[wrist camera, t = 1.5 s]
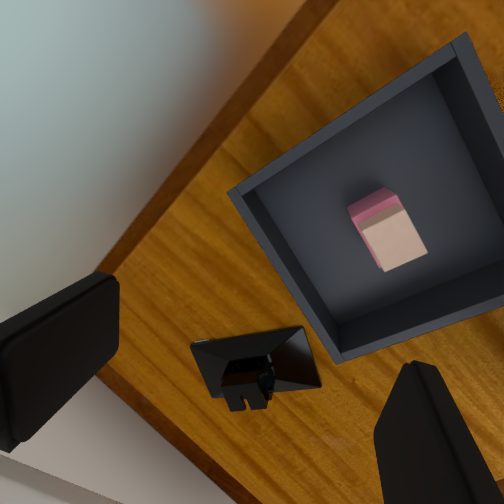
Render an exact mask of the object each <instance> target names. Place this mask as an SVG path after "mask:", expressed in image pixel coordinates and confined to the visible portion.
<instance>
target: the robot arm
mask: <svg viewBox="0 0 504 504" xmlns="http://www.w3.org/2000/svg"><path fill="white" fill-rule="evenodd" d="M119 293H120V285H119V282H118V281H116V278H115V276H113V275H110V274H106V273H103V272H99V271H97V272H94V273H92V274H90V275H88V276H87V277H85V278H83V279H81V280H79V281H77V282H76V283H74V284H72V285H70V286H68V287H66V288H65V289H63V290H61V291H59V292H57V293H55V294H53V295H52V296H50V297H48V298H46V299H44V300H42V301H41V302H39V303H37V304H35V305H33V306H31V307H30V308H28V309H26V310H24V311H22V312H20V313H18V314H17V315H15V316H13V317H11V318H9V319H7V320H6V321H4V322H2V323H0V450H2V451H5V452H7V453H10V452H11V451H12V450H13V449H14V448H15V447H16V446H18V445H19V444H20V443H21V442H25V441H27V440H29V439H30V438H31V437H32V436H33V435H34V434H35V433H36V432H37V431H38V430H39V429H40V428H41V427H42V426H43V425H44V424H45V423H46V422H47V421H48V420H49V419H50V418H51V417H52V416H53V415H54V414H55V413H56V412H57V411H58V410H59V409H60V408H61V407H63V406H64V405H65V403H67V401H69V400H70V399H71V398H72V396H73V395H74V394H76V393H77V391H79V390H80V389H81V388H82V387H83V386H84V385H85V384H86V383H87V382H88V381H89V380H90V379H91V378H92V377H93V376H94V375H95V374H96V373H97V372H98V371H99V370H100V369H101V368H102V367H103V366H104V365H105V364H106V363H107V362H108V361H109V360H110V359H111V358H112V357H113V356H114V355H115V354H116V352H117V350H118V347H119ZM374 445H375V451H376V457H377V463H378V469H379V475H380V481H381V487H382V493H383V499H384V504H504V497H503V495H502V493H501V492H500V490H499V488H498V486H497V484H496V482H495V480H494V478H493V476H492V474H491V472H490V470H489V468H488V466H487V464H486V462H485V460H484V458H483V456H482V454H481V452H480V450H479V448H478V447H477V445H476V443H475V441H474V439H473V437H472V435H471V433H470V431H469V429H468V427H467V425H466V423H465V421H464V419H463V417H462V415H461V413H460V411H459V409H458V407H457V405H456V403H455V402H454V400H453V398H452V396H451V394H450V392H449V390H448V388H447V386H446V384H445V382H444V380H443V378H442V376H441V374H440V372H439V370H438V369H437V367H436V366H434V365H430V364H427V363H423V362H420V361H416V360H413V361H412V362H411V363H410V364H408V363H405V364H404V365H403V367H402V369H401V371H400V373H399V375H398V377H397V380H396V382H395V384H394V386H393V388H392V391H391V393H390V395H389V397H388V399H387V402H386V404H385V406H384V408H383V410H382V413H381V415H380V417H379V419H378V421H377V423H376V426H375V429H374ZM0 504H122V503H119V502H117V501H114V500H112V499H110V498H107V497H105V496H102V495H100V494H97V493H95V492H93V491H90V490H87V489H85V488H83V487H80V486H78V485H75V484H73V483H70V482H68V481H65V480H63V479H60V478H58V477H55V476H53V475H50V474H48V473H45V472H42V471H40V470H38V469H35V468H33V467H30V466H28V465H25V464H22V463H20V462H18V461H15V460H12V459H10V458H8V457H5V456H3V455H0Z"/></svg>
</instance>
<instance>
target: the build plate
mask: <svg viewBox="0 0 504 504" xmlns="http://www.w3.org/2000/svg"><path fill="white" fill-rule="evenodd" d="M190 349H191V351H192V354H193V356H194V358H195V360H196V363H197V365H198V367H199V370H200V372H201V374H202V376H203V379H204V381H205V383H206V386H207V388H208V390H209V392H210V395H211V397H212V398H222V397H225V400H226V402H227V404H228V407H229V409H230V411H231V412H233V411H245V410H246V404H245V402H244V399H247V401H248V404H249V406H250V409H251V410H257V409H267V405H268V401H269V400H272V395H273V392H283V391H294V390H304V389H314V388H321V387H322V383H321V380H320V377H319V374H318V371H317V368H316V364H315V361H314V358H313V355H312V352H311V349H310V346H309V343H308V340H307V336H306V333H305V330H304V327H303V326H297V327H291V328H285V329H279V330H273V331H267V332H261V333H255V334H249V335H243V336H237V337H231V338H225V339H219V340H209V339H205V340H199V341H195V342H194V343H193V344H191V346H190Z"/></svg>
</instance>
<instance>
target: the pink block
mask: <svg viewBox="0 0 504 504" xmlns="http://www.w3.org/2000/svg"><path fill="white" fill-rule="evenodd" d="M347 209H348V211H349V214H350V217H351V219H352V221H353V223H354V224H355V226H356V228H357V230H358V231H359V233H360V235H361V237H362V238H363V240H364V242H365V244H366V246H367V247H368V249H369V251H370V253H371V254H372V256H373V258H374V260H375V261H376V263H377V265H378V267H379V268H382V269H383V271H384V272H386V271H389V270H391V269H393V268H395V267H398V266H400V265H402V264H404V263H407V262H409V261H411V260H413V259H416V258H418V257H420V256H422V255H425V254H427V253H428V251H427V250H426V248H425V246H424V244H423V242H422V240H421V238H420V236H419V234H418V233H417V231H416V229H415V227H414V225H413V223H412V221H411V219H410V217H409V216H408V214H407V212H406V210H405V209H404V207H403V205H402V204H401V202H400V200H399V198H398V196H397V195H396V194H395V193H393V192H392V191H390V190H389V189H387V188H386V187H383V188H381V189H379V190H377V191H375V192H373V193H372V194H370V195H368V196H366V197H364V198H363V199H361V200H359V201H357V202H355V203H353V204H352V205H350V206H348V207H347Z"/></svg>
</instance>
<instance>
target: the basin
mask: <svg viewBox="0 0 504 504" xmlns="http://www.w3.org/2000/svg"><path fill="white" fill-rule="evenodd" d="M383 187H386V188H387V189H389V190H390V191H392V192H393V193H395V194H396V195H397V196H398V198H399V200H400V202H401V204H402V205H403V207H404V209H405V210H406V212H407V214H408V216H409V217H410V219H411V221H412V223H413V225H414V227H415V229H416V231H417V233H418V234H419V236H420V238H421V240H422V242H423V244H424V246H425V248H426V250H427V251H428V253H427V254H425V255H422V256H420V257H418V258H416V259H413V260H411V261H409V262H407V263H404V264H402V265H400V266H398V267H395V268H393V269H391V270H389V271H386V272H384V271H383V269H382V268H379V267H378V265H377V263H376V261H375V260H374V258H373V256H372V254H371V253H370V251H369V249H368V247H367V246H366V244H365V242H364V240H363V238H362V237H361V235H360V233H359V231H358V230H357V228H356V226H355V224H354V223H353V221H352V219H351V217H350V214H349V211H348V209H347V207H348V206H350V205H352V204H353V203H355V202H357V201H359V200H361V199H363V198H364V197H366V196H368V195H370V194H372V193H373V192H375V191H377V190H379V189H381V188H383ZM227 194H228V196H229V197H230V199H231V201H232V202H233V204H234V205H235V207H236V208H237V210H238V212H239V213H240V215H241V216H242V218H243V219H244V221H245V223H246V224H247V226H248V227H249V229H250V230H251V232H252V233H253V235H254V237H255V238H256V240H257V241H258V243H259V244H260V246H261V248H262V249H263V251H264V252H265V254H266V255H267V257H268V259H269V260H270V262H271V263H272V265H273V266H274V268H275V270H276V271H277V273H278V274H279V276H280V277H281V279H282V281H283V282H284V284H285V285H286V287H287V288H288V290H289V292H290V293H291V295H292V296H293V298H294V299H295V301H296V303H297V304H298V306H299V307H300V309H301V310H302V312H303V314H304V315H305V317H306V318H307V320H308V321H309V323H310V325H311V326H312V328H313V329H314V331H315V332H316V334H317V336H318V337H319V339H320V340H321V342H322V343H323V345H324V347H325V348H326V350H327V351H328V353H329V354H330V356H331V358H332V359H333V361H334V362H335V364H336V365H337V364H340V363H342V362H345V361H348V360H351V359H354V358H357V357H360V356H363V355H365V354H368V353H371V352H374V351H377V350H380V349H383V348H385V347H388V346H391V345H394V344H397V343H400V342H403V341H405V340H408V339H411V338H414V337H417V336H420V335H423V334H425V333H428V332H431V331H434V330H437V329H440V328H442V327H445V326H448V325H451V324H454V323H457V322H460V321H462V320H465V319H468V318H471V317H474V316H477V315H480V314H482V313H485V312H488V311H491V310H494V309H497V308H499V307H502V306H504V115H503V112H502V110H501V108H500V106H499V103H498V101H497V99H496V96H495V94H494V92H493V90H492V87H491V85H490V83H489V81H488V78H487V76H486V74H485V72H484V69H483V67H482V65H481V62H480V60H479V58H478V56H477V53H476V51H475V49H474V47H473V44H472V42H471V40H470V38H469V35H468V33H467V31H466V32H464V33H463V34H461V35H460V36H458V37H457V38H455V39H454V40H452V41H451V42H450V43H448V44H446V45H445V46H443V47H442V48H440V49H439V50H437V51H436V52H434V53H433V54H431V55H430V56H428V57H427V58H425V59H424V60H422V61H421V62H420V63H418V64H417V65H415V66H414V67H412V68H411V69H409V70H408V71H406V72H405V73H403V74H402V75H400V76H399V77H397V78H396V79H394V80H393V81H391V82H390V83H388V84H387V85H385V86H384V87H382V88H381V89H379V90H378V91H376V92H375V93H373V94H372V95H370V96H369V97H367V98H366V99H364V100H363V101H362V102H360V103H359V104H357V105H356V106H354V107H353V108H351V109H350V110H348V111H347V112H345V113H344V114H342V115H341V116H339V117H338V118H336V119H335V120H333V121H332V122H330V123H329V124H327V125H326V126H324V127H323V128H321V129H320V130H318V131H317V132H315V133H314V134H312V135H311V136H309V137H308V138H306V139H305V140H304V141H302V142H301V143H299V144H298V145H296V146H295V147H293V148H292V149H290V150H289V151H287V152H286V153H284V154H283V155H281V156H280V157H278V158H277V159H275V160H274V161H272V162H271V163H269V164H268V165H266V166H265V167H263V168H262V169H260V170H259V171H257V172H256V173H254V174H253V175H251V176H250V177H249V178H247V179H246V180H244V181H243V182H241V183H240V184H238V185H237V186H235V187H234V188H232V189H231V190H229V191H228V192H227Z"/></svg>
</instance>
